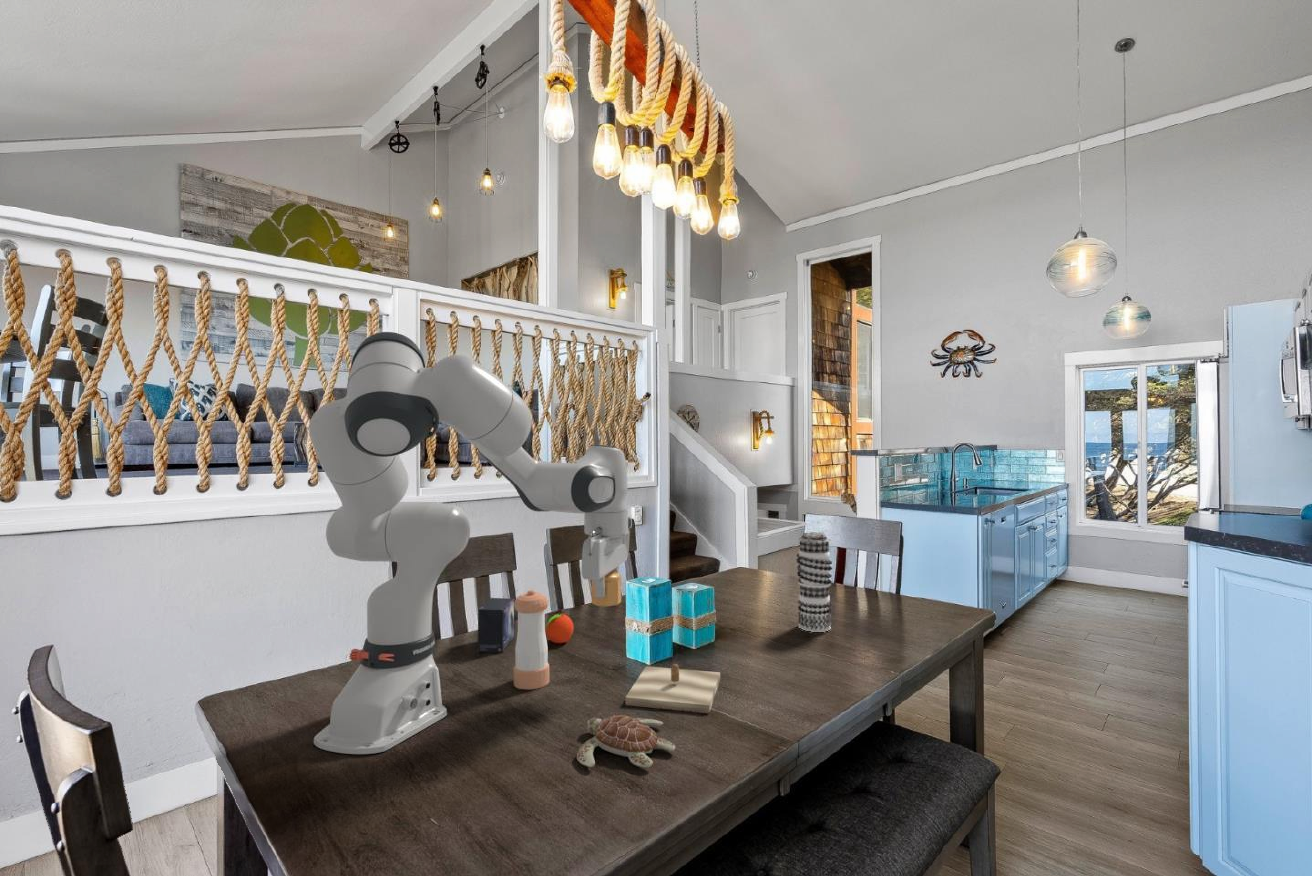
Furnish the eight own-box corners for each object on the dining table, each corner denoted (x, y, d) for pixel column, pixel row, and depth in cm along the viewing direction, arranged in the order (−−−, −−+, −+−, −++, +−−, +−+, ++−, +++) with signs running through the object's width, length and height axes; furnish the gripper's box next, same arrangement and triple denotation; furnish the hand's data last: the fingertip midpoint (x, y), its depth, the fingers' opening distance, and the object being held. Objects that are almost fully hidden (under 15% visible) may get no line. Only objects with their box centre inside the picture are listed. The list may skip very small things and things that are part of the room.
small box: (504, 653, 144) (503, 609, 144) (476, 653, 144) (476, 609, 144) (515, 638, 154) (515, 597, 154) (489, 638, 155) (489, 597, 155)
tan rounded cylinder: (615, 607, 121) (615, 578, 121) (588, 605, 123) (588, 577, 123) (623, 599, 127) (623, 572, 127) (597, 598, 128) (597, 571, 128)
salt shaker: (541, 691, 122) (540, 595, 122) (507, 688, 124) (507, 594, 124) (554, 677, 129) (554, 586, 129) (522, 674, 131) (522, 585, 131)
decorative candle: (789, 625, 164) (789, 532, 164) (816, 620, 168) (816, 530, 168) (811, 635, 156) (811, 537, 156) (839, 630, 160) (839, 534, 160)
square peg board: (709, 713, 112) (709, 683, 112) (625, 705, 116) (625, 676, 116) (720, 679, 128) (720, 653, 128) (646, 673, 131) (646, 647, 131)
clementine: (556, 650, 146) (555, 620, 146) (536, 644, 150) (536, 615, 150) (579, 641, 152) (579, 613, 152) (560, 636, 156) (560, 608, 156)
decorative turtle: (622, 715, 113) (622, 688, 113) (696, 743, 102) (696, 713, 102) (547, 755, 98) (547, 724, 98) (624, 792, 88) (624, 758, 88)
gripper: (604, 532, 114) (605, 606, 114) (634, 518, 134) (634, 581, 134) (573, 531, 115) (573, 604, 115) (606, 517, 135) (607, 579, 135)
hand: (606, 592), depth 125 cm, fingers closed on tan rounded cylinder, 6 cm apart
